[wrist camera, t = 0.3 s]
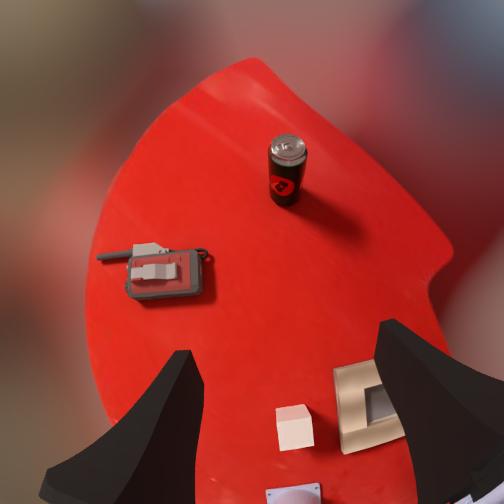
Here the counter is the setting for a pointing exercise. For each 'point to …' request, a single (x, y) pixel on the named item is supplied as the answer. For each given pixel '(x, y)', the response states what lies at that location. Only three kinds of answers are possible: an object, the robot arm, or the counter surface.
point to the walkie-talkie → (161, 271)
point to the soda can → (286, 168)
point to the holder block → (363, 408)
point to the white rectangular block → (294, 427)
